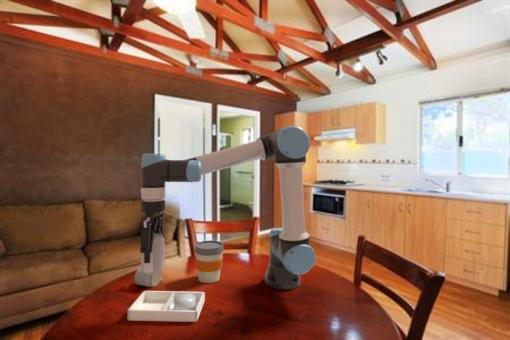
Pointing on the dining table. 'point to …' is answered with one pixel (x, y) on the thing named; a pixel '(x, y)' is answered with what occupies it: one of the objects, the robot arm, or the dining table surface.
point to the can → (156, 254)
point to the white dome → (184, 302)
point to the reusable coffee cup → (209, 260)
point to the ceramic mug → (147, 278)
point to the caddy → (163, 307)
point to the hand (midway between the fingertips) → (152, 267)
